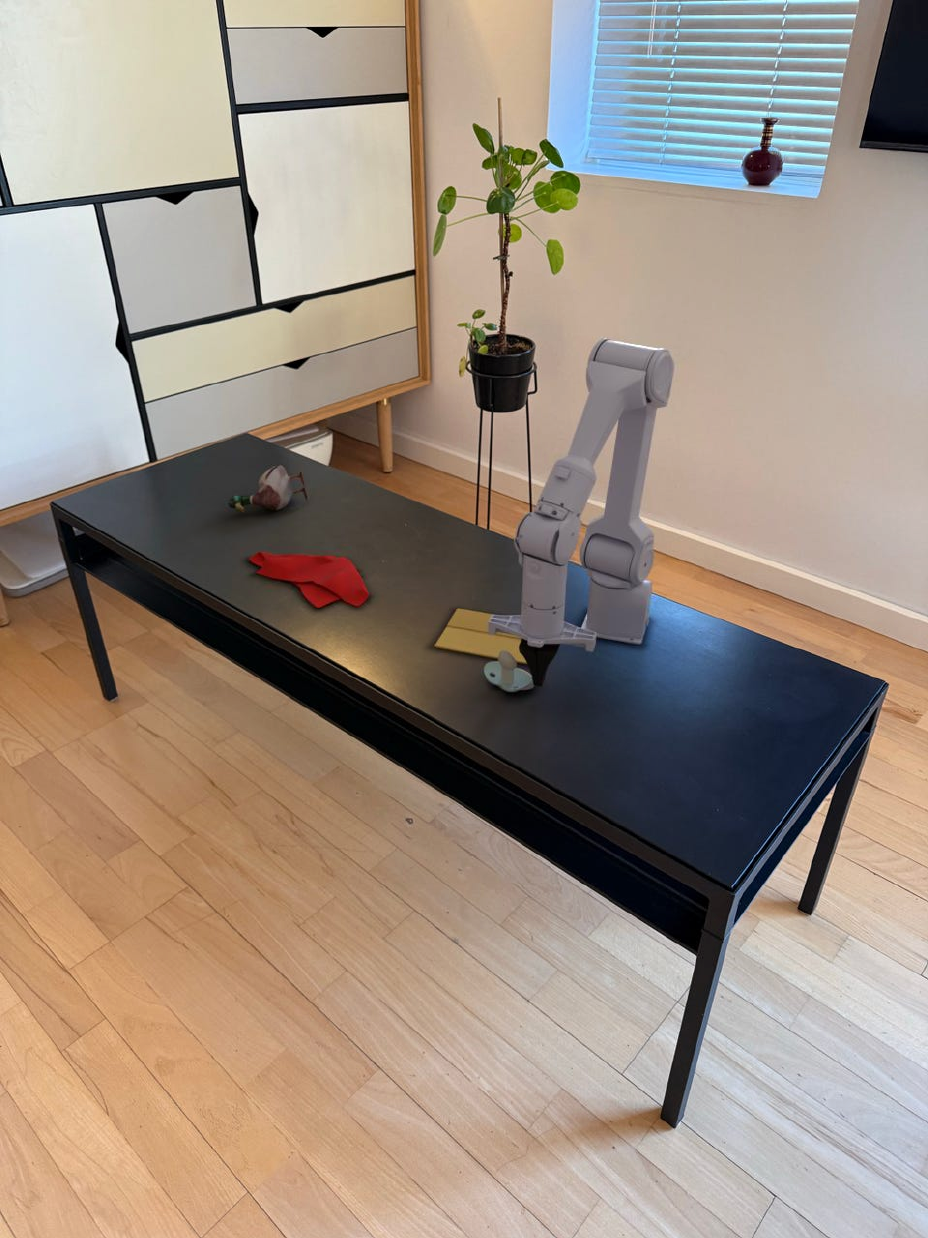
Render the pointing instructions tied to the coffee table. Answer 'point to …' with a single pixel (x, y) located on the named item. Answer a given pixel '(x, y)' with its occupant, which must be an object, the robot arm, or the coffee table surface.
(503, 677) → the pacifier
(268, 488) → the decorative duck model
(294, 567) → the cloth
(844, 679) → the coffee table surface
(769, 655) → the coffee table surface
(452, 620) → the envelope
